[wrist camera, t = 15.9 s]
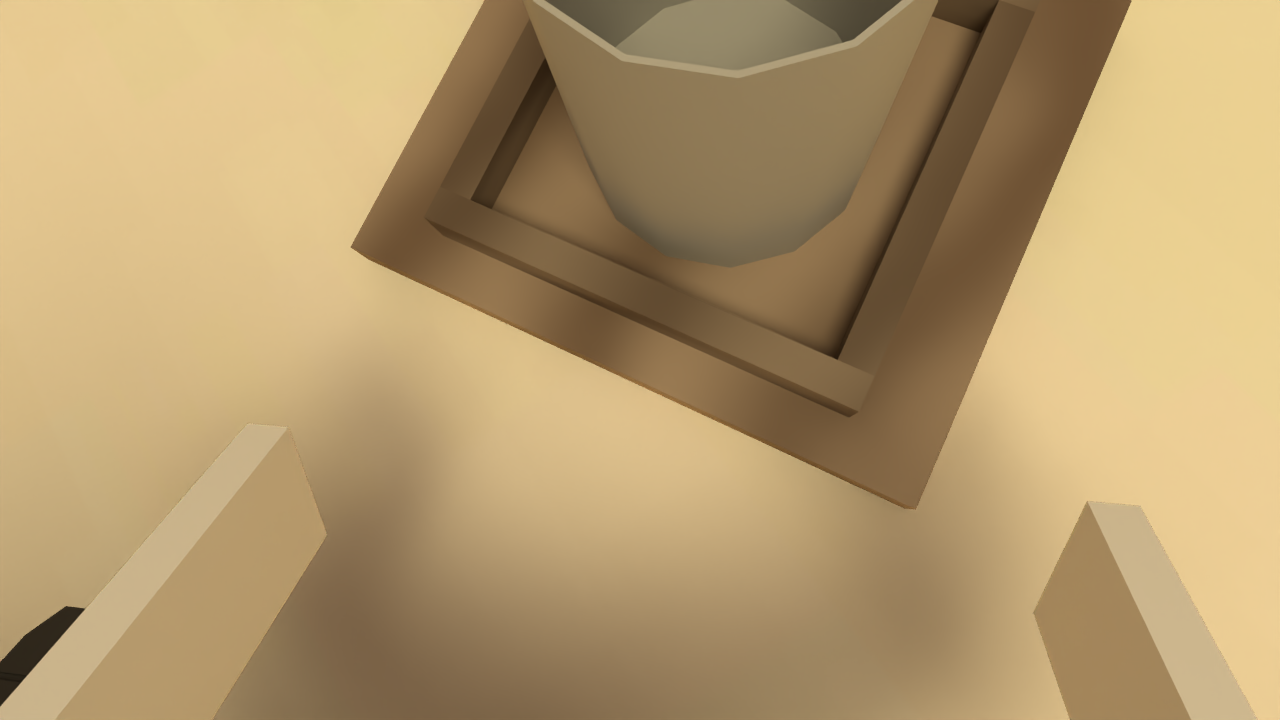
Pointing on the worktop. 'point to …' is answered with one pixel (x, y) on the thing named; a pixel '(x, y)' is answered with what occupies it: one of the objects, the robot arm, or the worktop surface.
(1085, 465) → the worktop surface
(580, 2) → the cup
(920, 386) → the brown wooden tray
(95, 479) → the worktop surface
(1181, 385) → the worktop surface
